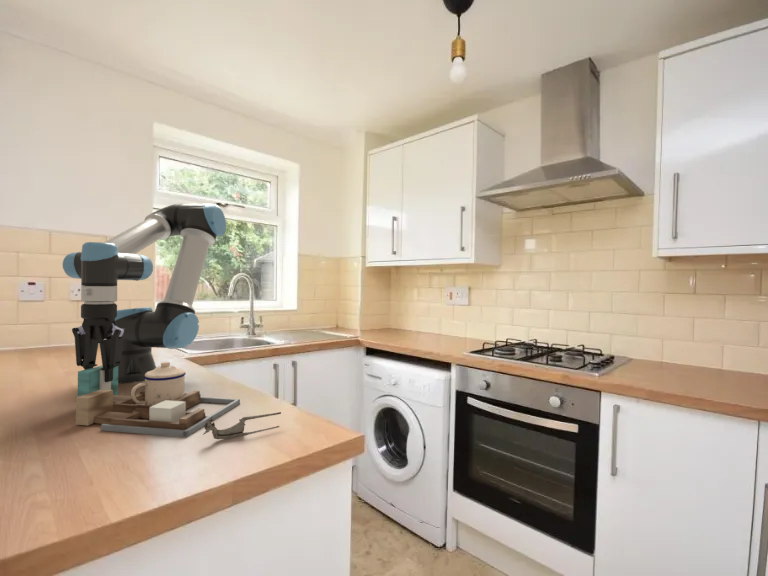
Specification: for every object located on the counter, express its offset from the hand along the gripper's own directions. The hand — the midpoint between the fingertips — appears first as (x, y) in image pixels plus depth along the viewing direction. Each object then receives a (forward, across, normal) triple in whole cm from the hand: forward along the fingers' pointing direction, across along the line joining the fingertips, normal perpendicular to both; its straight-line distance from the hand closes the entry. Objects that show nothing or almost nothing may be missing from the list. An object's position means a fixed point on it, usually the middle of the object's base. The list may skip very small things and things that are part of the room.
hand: (98, 393), depth 100 cm
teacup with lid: (+3, +18, -2) cm, 18 cm away
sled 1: (+3, +16, 0) cm, 16 cm away
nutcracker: (+3, +46, -13) cm, 48 cm away
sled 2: (+3, +25, -11) cm, 28 cm away
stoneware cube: (+3, +27, -11) cm, 30 cm away
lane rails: (+3, +25, -5) cm, 26 cm away
